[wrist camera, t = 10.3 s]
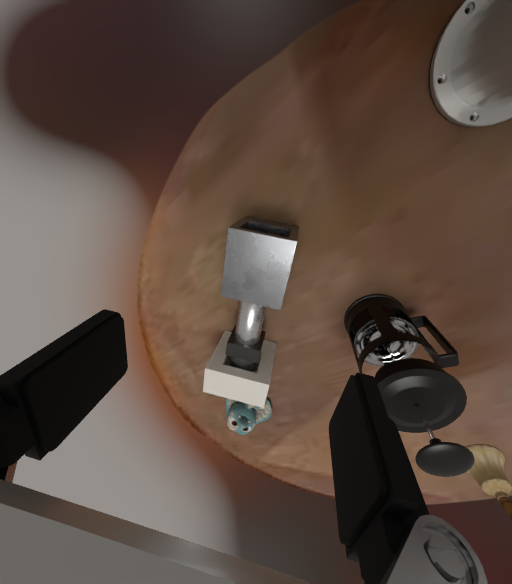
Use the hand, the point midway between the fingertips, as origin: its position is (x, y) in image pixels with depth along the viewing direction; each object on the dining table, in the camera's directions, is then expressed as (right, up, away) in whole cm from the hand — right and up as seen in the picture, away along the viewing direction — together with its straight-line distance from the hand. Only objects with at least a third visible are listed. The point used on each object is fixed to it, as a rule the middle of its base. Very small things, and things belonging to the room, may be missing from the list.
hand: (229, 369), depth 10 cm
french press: (+21, -1, +30) cm, 37 cm away
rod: (0, -1, +31) cm, 31 cm away
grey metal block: (+3, +10, +29) cm, 31 cm away
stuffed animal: (0, -20, +43) cm, 48 cm away
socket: (0, -7, +37) cm, 38 cm away
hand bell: (+45, -30, +39) cm, 67 cm away
